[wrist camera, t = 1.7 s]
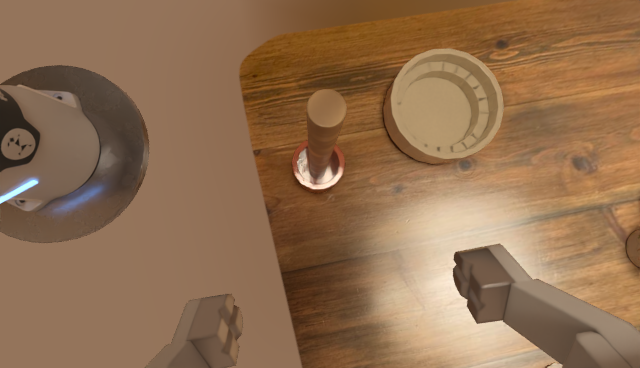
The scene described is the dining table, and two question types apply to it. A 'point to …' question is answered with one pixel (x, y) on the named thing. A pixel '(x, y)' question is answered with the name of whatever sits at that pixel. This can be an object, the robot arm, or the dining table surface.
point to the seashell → (555, 365)
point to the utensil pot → (331, 174)
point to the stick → (323, 128)
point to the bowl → (443, 106)
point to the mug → (634, 247)
